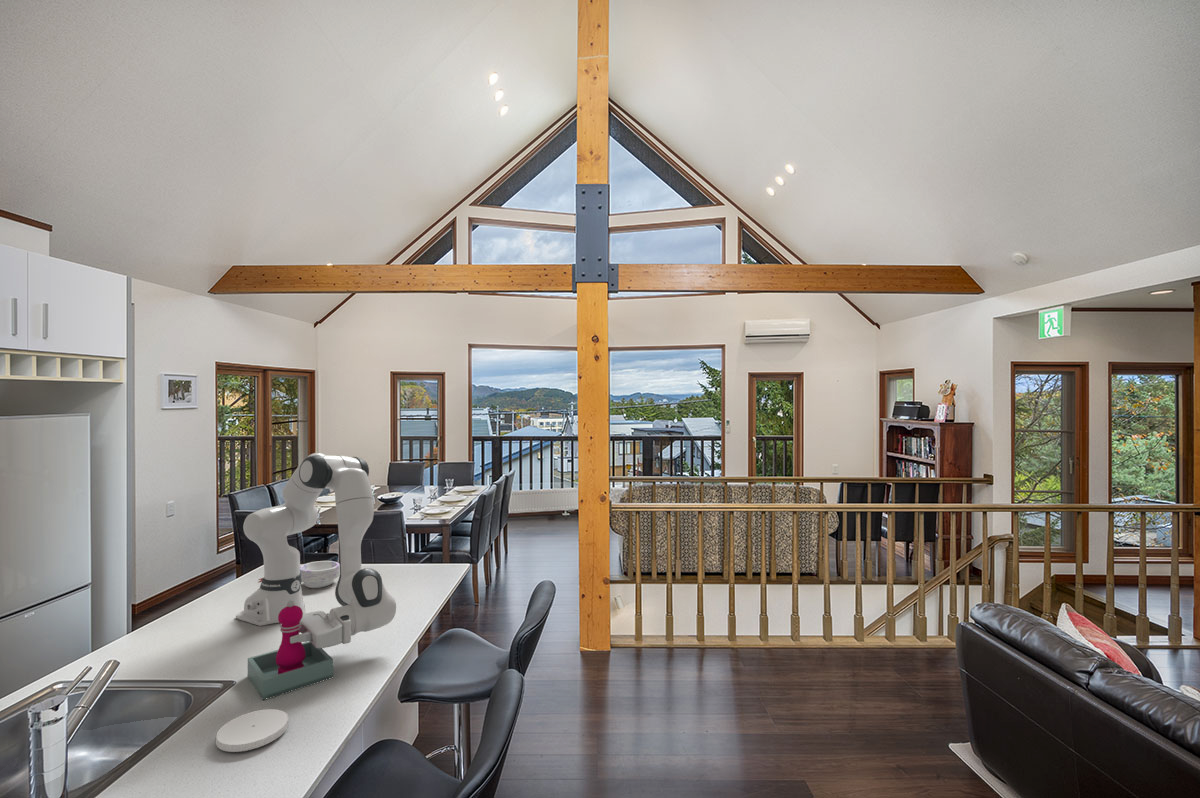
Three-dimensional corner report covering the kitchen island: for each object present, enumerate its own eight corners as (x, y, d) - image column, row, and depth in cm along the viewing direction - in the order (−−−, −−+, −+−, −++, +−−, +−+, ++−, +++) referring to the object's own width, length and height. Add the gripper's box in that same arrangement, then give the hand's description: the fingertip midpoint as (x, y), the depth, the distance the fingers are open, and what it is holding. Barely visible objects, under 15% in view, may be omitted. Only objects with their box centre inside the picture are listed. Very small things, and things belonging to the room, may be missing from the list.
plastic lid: (214, 733, 130) (214, 722, 130) (283, 713, 139) (283, 702, 139) (218, 765, 119) (218, 753, 119) (293, 740, 128) (293, 729, 128)
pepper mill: (311, 669, 158) (311, 597, 158) (290, 681, 151) (289, 607, 151) (291, 665, 161) (291, 594, 160) (269, 677, 154) (269, 603, 154)
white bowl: (347, 582, 235) (347, 563, 235) (312, 593, 222) (312, 573, 222) (325, 576, 243) (325, 558, 243) (290, 586, 230) (290, 567, 230)
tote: (247, 676, 156) (247, 658, 156) (313, 656, 168) (313, 640, 168) (263, 700, 144) (263, 680, 144) (333, 677, 156) (333, 659, 156)
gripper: (327, 602, 172) (276, 614, 163) (352, 622, 157) (297, 636, 148) (327, 623, 172) (276, 636, 163) (352, 644, 157) (297, 660, 148)
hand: (286, 636), depth 155 cm, fingers closed on pepper mill, 4 cm apart
